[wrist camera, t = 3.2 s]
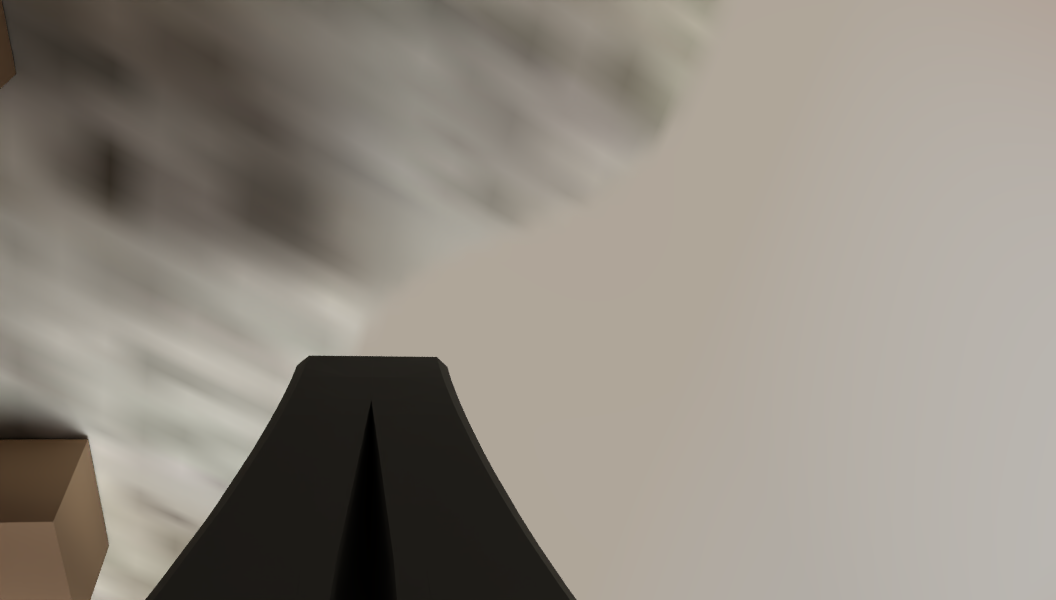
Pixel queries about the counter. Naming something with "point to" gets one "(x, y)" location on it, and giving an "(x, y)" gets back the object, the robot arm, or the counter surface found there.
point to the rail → (47, 499)
